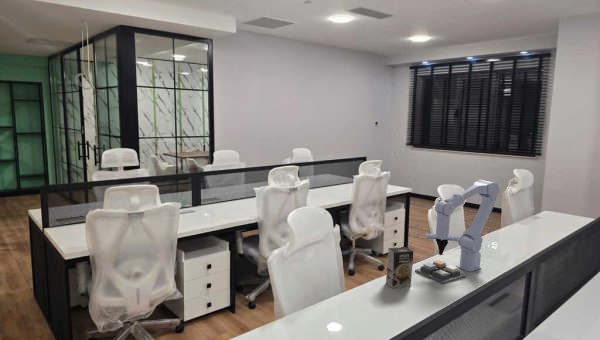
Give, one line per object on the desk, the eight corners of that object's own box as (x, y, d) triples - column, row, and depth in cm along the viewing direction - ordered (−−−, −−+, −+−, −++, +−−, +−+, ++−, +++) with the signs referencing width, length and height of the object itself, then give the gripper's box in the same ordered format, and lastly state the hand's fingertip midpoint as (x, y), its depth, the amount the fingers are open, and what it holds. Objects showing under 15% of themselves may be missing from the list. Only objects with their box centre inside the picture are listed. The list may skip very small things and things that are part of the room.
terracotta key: (438, 264, 198) (438, 260, 198) (445, 266, 195) (445, 262, 195) (433, 265, 196) (433, 261, 196) (439, 268, 193) (440, 264, 192)
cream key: (450, 268, 192) (451, 264, 192) (457, 271, 189) (458, 267, 189) (445, 270, 190) (445, 266, 190) (452, 273, 187) (452, 269, 187)
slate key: (428, 266, 195) (429, 262, 194) (435, 269, 191) (435, 265, 191) (423, 268, 192) (423, 264, 192) (429, 271, 189) (430, 266, 189)
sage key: (440, 273, 189) (440, 269, 189) (447, 276, 185) (448, 272, 185) (434, 275, 187) (435, 271, 186) (441, 278, 183) (442, 274, 183)
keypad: (437, 265, 202) (438, 260, 202) (465, 277, 189) (466, 271, 188) (415, 271, 194) (415, 266, 193) (442, 284, 180) (443, 278, 180)
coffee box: (392, 288, 174) (394, 252, 172) (385, 282, 180) (387, 247, 178) (411, 287, 176) (414, 251, 174) (403, 280, 183) (406, 246, 180)
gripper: (427, 227, 190) (425, 255, 192) (460, 230, 187) (458, 258, 189) (426, 223, 196) (424, 250, 198) (458, 226, 193) (455, 253, 195)
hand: (440, 254), depth 194 cm, fingers closed
